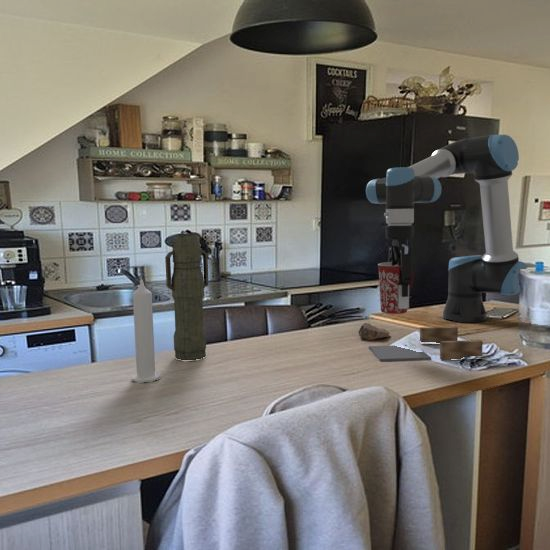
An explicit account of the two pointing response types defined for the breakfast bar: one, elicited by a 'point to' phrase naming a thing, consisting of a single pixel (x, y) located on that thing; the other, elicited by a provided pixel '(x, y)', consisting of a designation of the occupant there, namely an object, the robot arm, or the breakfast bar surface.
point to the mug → (390, 287)
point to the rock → (372, 332)
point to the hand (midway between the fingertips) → (398, 305)
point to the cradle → (451, 342)
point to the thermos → (188, 295)
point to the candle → (144, 336)
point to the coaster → (397, 353)
